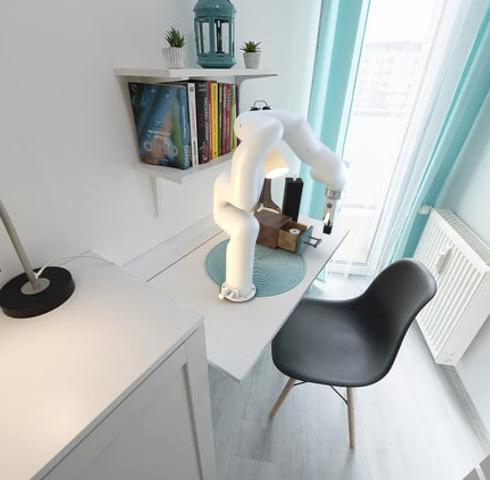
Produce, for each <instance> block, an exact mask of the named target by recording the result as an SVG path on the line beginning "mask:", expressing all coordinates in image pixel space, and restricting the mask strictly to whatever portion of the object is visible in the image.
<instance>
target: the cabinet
mask: <svg viewBox="0 0 490 480" xmlns="http://www.w3.org/2000/svg"><path fill="white" fill-rule="evenodd" d="M252 215H253V216H254V217H255V218H256V219H257V220H258V222H259V233H258V236H257V239H256V244H259V245H262V246H265V247H267V248H269V249H273V250H277V248H279V246H276V245H277V237H278V230H279V229H280V228H281V227H282V226H284V225H285V224H286V223H287V222H288V221H291V219H292V217H289V216H285V215H282V214H281V213H279V212H275V211H271V210H268V209H264V208H262V209H260V210H259V211H257V212H256V213H254V214H252Z"/></svg>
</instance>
